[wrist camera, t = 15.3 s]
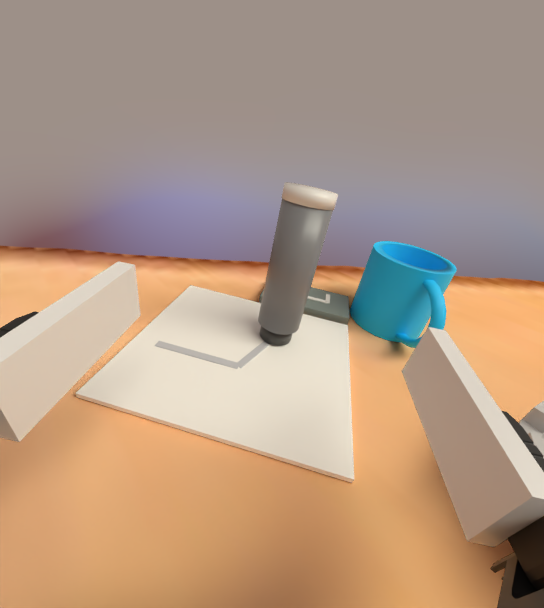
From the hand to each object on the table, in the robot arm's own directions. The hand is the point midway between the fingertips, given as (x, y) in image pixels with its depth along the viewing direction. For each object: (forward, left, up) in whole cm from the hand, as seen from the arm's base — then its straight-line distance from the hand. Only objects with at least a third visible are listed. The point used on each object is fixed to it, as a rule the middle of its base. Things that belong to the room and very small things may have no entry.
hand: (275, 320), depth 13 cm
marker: (-1, +10, -9) cm, 13 cm away
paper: (-3, +7, -9) cm, 12 cm away
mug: (+11, +17, -10) cm, 23 cm away
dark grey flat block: (+1, +18, -9) cm, 20 cm away
